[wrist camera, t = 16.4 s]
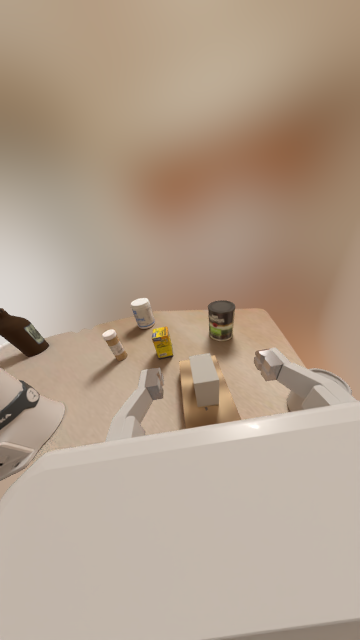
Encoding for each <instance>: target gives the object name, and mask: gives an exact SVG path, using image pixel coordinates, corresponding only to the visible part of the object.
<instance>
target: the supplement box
mask: <svg viewBox="0 0 360 640" xmlns="http://www.w3.org/2000/svg"><path fill="white" fill-rule="evenodd" d="M152 340H153V343H154V346H155V349H156V352H157V355H158V357H159V359H163V358H167V357H172V356H173V352H172V344H171V340H170V336H169V332H168V328H167V327H163V328H157V329H153V335H152Z"/></svg>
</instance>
